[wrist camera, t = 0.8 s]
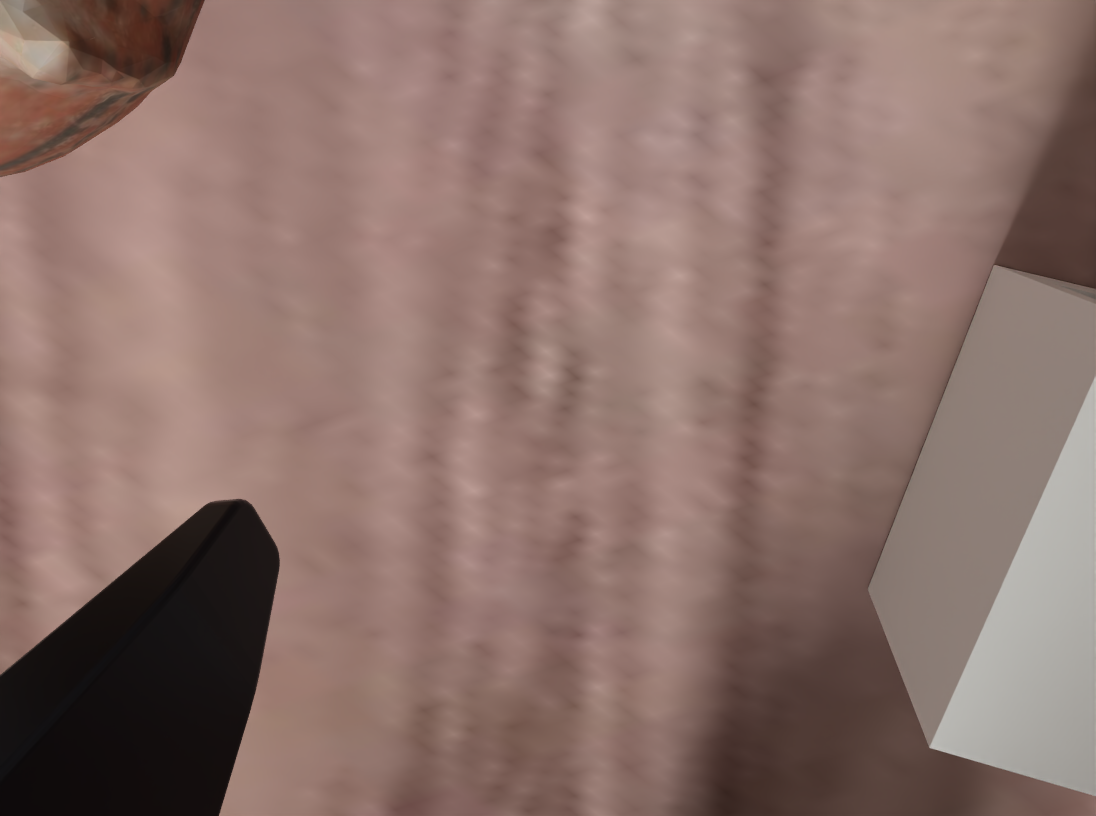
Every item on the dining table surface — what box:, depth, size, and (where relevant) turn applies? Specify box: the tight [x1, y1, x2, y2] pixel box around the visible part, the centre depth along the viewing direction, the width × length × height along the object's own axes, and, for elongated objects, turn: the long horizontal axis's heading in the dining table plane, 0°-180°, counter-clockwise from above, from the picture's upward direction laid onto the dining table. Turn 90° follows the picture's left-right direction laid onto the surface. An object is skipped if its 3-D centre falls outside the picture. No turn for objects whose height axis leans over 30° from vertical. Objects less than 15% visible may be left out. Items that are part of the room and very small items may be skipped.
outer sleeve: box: [868, 265, 1096, 796], centre depth 18 cm, size 9×5×6 cm, turn 167°
